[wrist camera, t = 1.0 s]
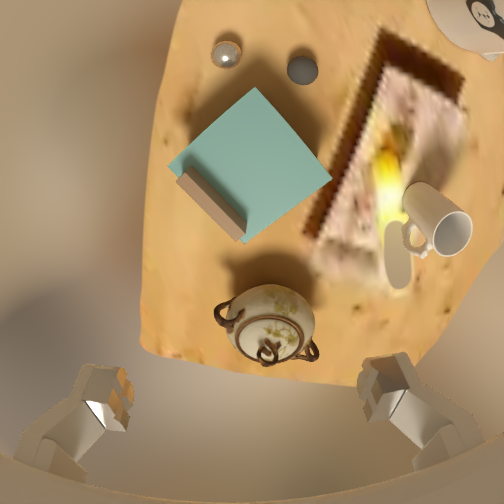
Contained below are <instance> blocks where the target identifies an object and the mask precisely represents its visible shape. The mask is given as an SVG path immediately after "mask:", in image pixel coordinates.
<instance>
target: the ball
mask: <svg viewBox="0 0 504 504" xmlns="http://www.w3.org/2000/svg"><path fill="white" fill-rule="evenodd" d="M287 73H288V76H289V78H290V79H291V80H292V81H293V82H295V83H297V84H299V85H308V84H310V83H312V82H313V81H315V79H316V78H317V76H318V67H317V65H316V63H315V62H314V61H313V60H312V59H310V58H308V57H304V56H300V57H296V58H294V59H292V60H291V61H290V63H289V64H288V67H287Z"/></svg>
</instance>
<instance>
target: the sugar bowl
mask: <svg viewBox="0 0 504 504" xmlns="http://www.w3.org/2000/svg"><path fill="white" fill-rule="evenodd" d="M227 307H229V309H228V311H227V315H226V319H224V318H223V317H221V315H220V310H222V309H224V308H227ZM214 317H215V319H216V321H217V322H218V324H219V325H220V326H223V327H225V328H226V333H227V336H228V338H229V340H230V342H231V344H232V345H233V346H234V348H235V349H237V350H238V351H239V352H240V353H241V354H243V355H244V356H245V357H247V358H249V359H251V360H253V361H256V362H259V363H261V365H262V366H264V367H269V366H273V365H275V364H276V363H281V362H284V361H287V360H289V359H291V360H294V359H302V360H306V361H309V362H314V361H316V360H317V359H318V358H319V350H318V348H317V346H316V345H315V343H314V342H313V341H312V336H313V333H314V329H315V318H314V314H313V311H312V309H311V307H310V305H309V304H308V302H307V301H306V300H305V299H304V298H303V297H302V296H301V295H300V294H299V293H297V292H295V291H294V290H292V289H290V288H287V287H284V286H280V285H277V284H265V285H261V286H257V287H254V288H251V289H249V290H247V291H245V292H244V293H242V294H241V295H239V296H238V297H234V298H233V299H231V300H229V301H227V302H224V303H221V304H219V305H217V306H216V307H215V309H214ZM309 348H311V349H312V351H313V352H314V355H312V354H311V353H310V349H309ZM304 349H305V353H306V356H304V355H301V354H299V353H300V352H302V351H303V350H304Z"/></svg>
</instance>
